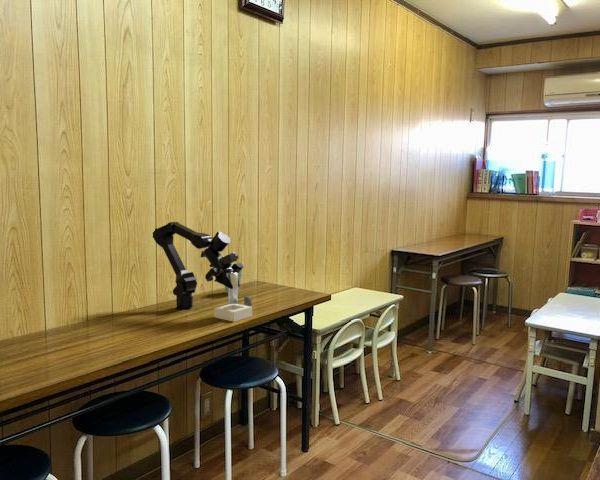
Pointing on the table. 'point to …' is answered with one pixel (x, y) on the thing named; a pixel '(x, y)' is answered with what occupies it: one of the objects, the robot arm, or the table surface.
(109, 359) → the table surface
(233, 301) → the steel pin
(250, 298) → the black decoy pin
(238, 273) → the disposable coffee cup
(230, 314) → the socket block
